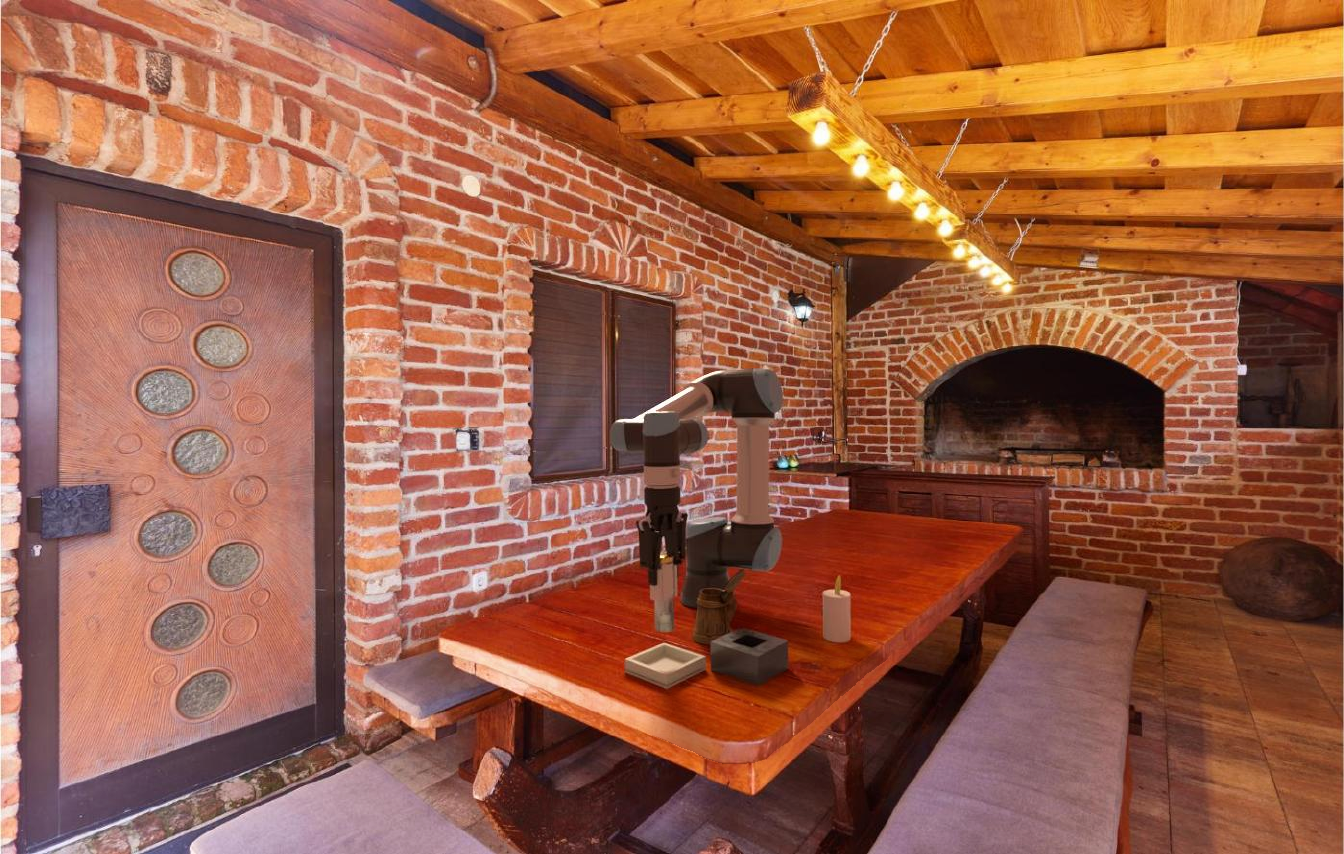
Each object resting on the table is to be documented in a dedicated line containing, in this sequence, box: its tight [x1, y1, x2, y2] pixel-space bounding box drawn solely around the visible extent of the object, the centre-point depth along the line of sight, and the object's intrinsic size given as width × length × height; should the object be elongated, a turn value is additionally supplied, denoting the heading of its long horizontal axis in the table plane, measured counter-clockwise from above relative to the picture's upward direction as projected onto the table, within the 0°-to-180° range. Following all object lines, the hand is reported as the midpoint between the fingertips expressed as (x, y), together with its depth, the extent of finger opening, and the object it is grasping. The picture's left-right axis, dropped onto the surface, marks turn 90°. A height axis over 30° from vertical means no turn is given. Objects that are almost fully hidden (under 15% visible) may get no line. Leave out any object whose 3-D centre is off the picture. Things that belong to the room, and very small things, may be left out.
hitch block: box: [710, 627, 789, 687], centre depth 135 cm, size 12×11×6 cm
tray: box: [624, 642, 707, 690], centre depth 135 cm, size 12×12×3 cm
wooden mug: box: [692, 569, 746, 645], centre depth 152 cm, size 9×14×18 cm, turn 51°
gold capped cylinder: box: [654, 553, 675, 633], centre depth 135 cm, size 4×4×15 cm
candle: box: [821, 574, 852, 643], centre depth 152 cm, size 6×6×15 cm
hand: (663, 597), depth 135 cm, fingers closed on gold capped cylinder, 4 cm apart
